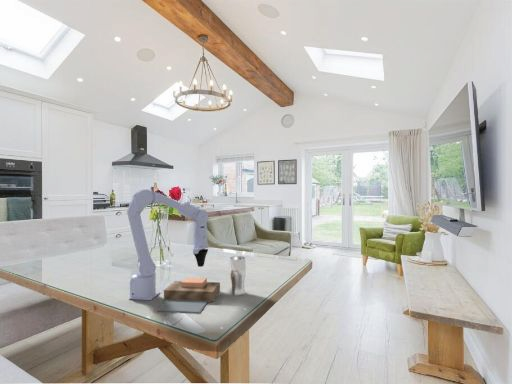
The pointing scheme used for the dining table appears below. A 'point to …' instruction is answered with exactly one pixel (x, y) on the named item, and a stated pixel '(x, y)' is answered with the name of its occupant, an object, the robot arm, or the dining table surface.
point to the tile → (194, 282)
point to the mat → (183, 306)
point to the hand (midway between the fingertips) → (200, 266)
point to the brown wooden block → (192, 292)
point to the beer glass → (237, 275)
